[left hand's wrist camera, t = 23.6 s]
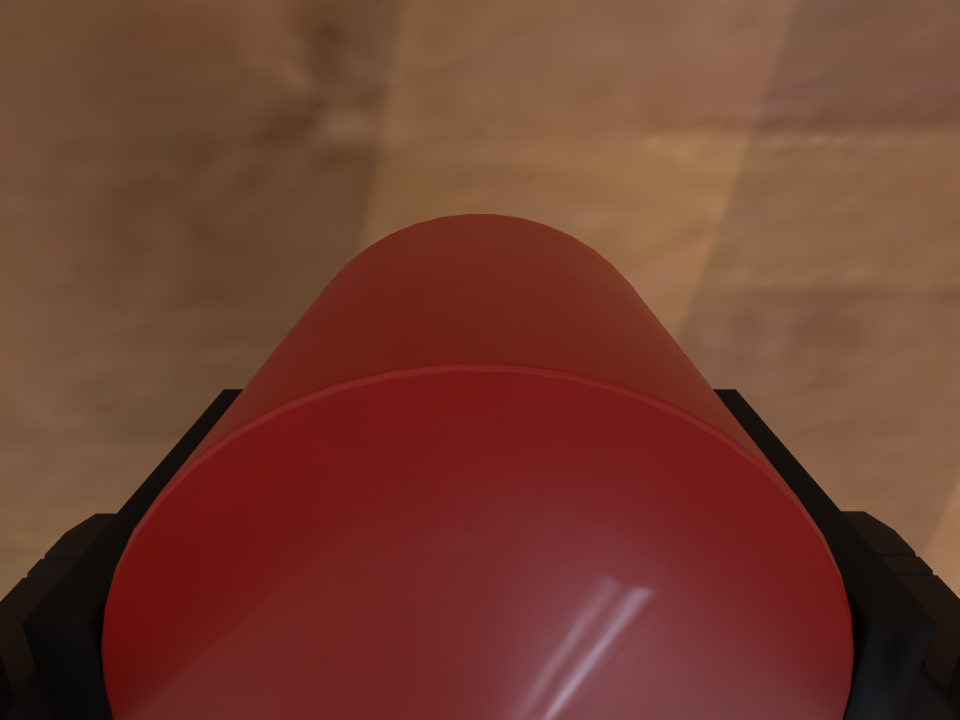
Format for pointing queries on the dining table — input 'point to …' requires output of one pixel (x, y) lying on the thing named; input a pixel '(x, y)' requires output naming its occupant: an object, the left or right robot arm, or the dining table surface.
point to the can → (477, 516)
